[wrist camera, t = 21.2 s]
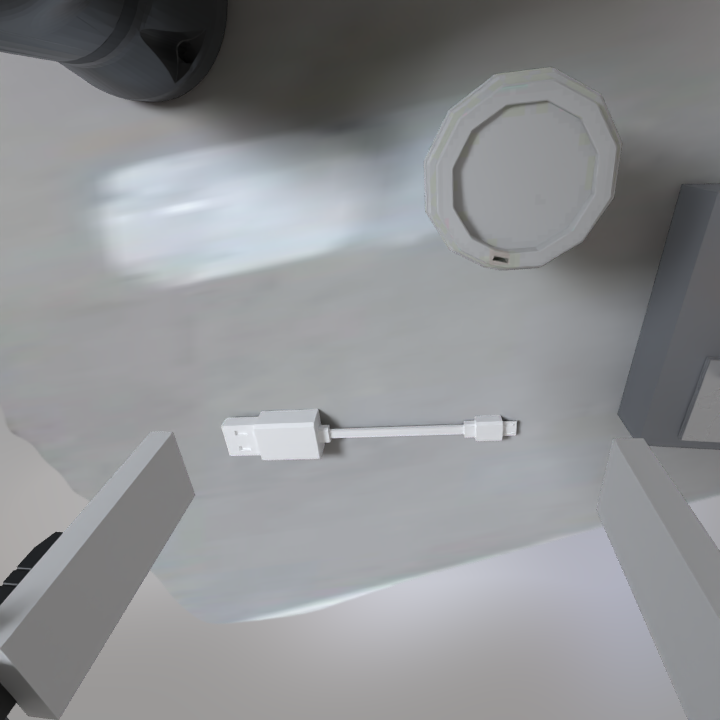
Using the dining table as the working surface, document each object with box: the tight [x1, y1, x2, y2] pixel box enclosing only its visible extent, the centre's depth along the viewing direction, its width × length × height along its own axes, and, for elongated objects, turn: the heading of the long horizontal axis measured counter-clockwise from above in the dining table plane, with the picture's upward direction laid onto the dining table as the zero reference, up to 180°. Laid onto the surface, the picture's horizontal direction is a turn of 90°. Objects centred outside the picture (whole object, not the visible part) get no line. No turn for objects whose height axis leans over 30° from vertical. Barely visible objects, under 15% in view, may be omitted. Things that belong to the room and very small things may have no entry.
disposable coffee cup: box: [424, 67, 622, 270], centre depth 30 cm, size 11×11×15 cm
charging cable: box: [221, 409, 517, 460], centre depth 49 cm, size 5×32×3 cm, turn 96°
